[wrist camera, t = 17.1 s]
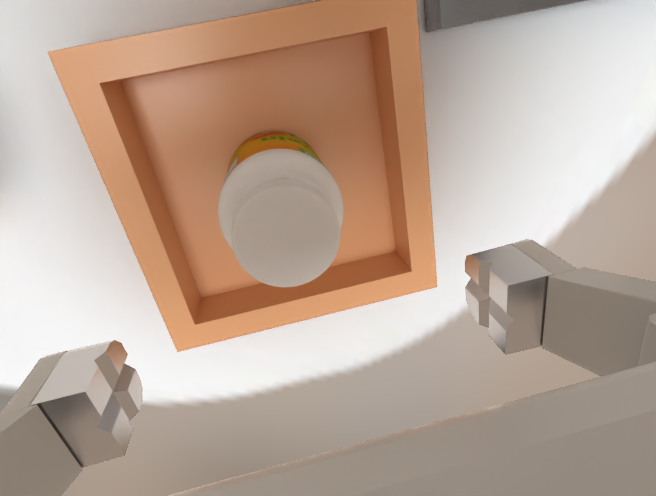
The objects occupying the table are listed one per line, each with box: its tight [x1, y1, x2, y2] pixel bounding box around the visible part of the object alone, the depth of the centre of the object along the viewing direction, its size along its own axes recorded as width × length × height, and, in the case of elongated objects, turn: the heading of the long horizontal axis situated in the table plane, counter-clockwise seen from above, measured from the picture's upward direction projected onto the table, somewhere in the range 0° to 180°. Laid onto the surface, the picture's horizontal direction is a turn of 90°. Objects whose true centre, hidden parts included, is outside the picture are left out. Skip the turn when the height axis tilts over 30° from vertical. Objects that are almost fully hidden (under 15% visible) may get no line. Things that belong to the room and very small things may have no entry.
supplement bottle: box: [218, 130, 343, 287], centre depth 19 cm, size 5×5×10 cm
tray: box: [48, 0, 437, 352], centre depth 22 cm, size 16×16×4 cm
